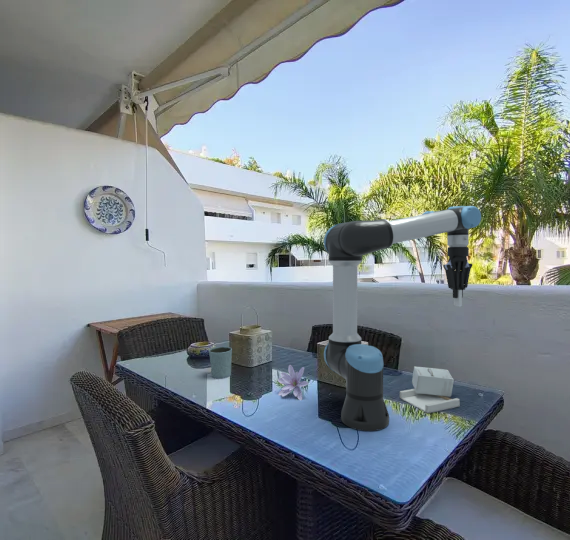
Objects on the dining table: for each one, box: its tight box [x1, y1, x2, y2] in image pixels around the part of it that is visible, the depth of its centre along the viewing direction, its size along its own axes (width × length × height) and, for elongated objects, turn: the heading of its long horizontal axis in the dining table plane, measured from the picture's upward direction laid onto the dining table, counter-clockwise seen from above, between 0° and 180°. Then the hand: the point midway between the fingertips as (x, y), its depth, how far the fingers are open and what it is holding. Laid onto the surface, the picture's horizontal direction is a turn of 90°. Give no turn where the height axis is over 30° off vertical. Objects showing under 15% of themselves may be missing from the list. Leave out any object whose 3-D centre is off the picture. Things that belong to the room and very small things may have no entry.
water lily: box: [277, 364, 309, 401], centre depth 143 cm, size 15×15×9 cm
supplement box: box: [411, 365, 455, 398], centre depth 137 cm, size 7×7×13 cm
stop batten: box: [436, 395, 452, 400], centre depth 135 cm, size 1×12×1 cm, turn 21°
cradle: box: [399, 388, 461, 414], centre depth 132 cm, size 14×14×2 cm
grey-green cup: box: [208, 346, 233, 380], centre depth 165 cm, size 10×10×12 cm
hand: (457, 306), depth 145 cm, fingers closed
